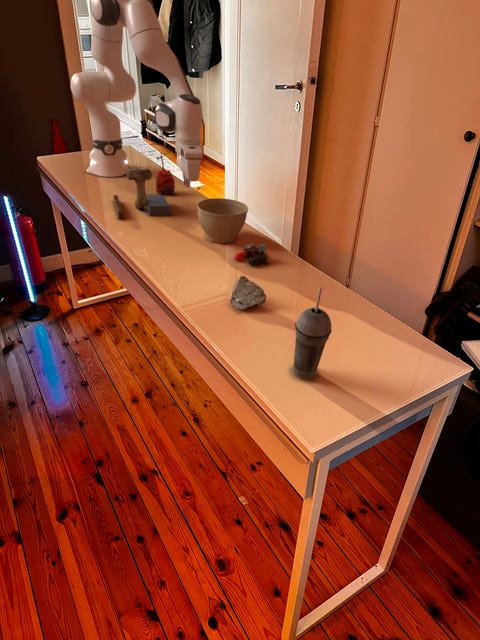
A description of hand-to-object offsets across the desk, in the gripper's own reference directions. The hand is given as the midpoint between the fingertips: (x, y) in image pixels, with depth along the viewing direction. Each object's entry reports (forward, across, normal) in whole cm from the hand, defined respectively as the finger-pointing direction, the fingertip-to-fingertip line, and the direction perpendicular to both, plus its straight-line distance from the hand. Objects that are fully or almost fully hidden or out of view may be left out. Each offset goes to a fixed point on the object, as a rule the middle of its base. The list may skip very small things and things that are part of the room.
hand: (186, 185), depth 173 cm
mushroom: (+9, 0, -17) cm, 19 cm away
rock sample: (+8, +70, 0) cm, 71 cm away
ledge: (+8, 0, -25) cm, 26 cm away
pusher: (+8, +1, -11) cm, 14 cm away
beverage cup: (+7, +100, +3) cm, 100 cm away
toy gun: (+8, +45, +9) cm, 46 cm away
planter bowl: (+8, +29, +5) cm, 30 cm away
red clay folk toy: (+9, -18, -5) cm, 20 cm away
